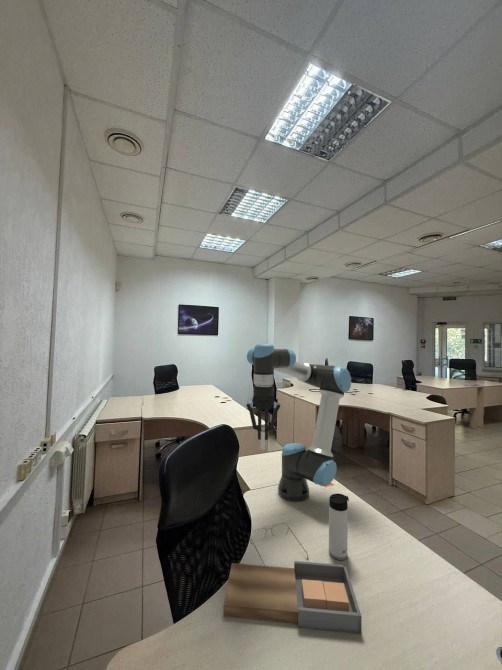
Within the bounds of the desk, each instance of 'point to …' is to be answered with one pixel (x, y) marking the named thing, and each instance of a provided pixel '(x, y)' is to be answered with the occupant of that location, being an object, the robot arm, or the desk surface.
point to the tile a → (313, 594)
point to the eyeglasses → (274, 535)
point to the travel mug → (338, 526)
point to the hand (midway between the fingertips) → (262, 448)
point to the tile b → (336, 596)
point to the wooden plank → (261, 593)
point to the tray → (324, 617)
